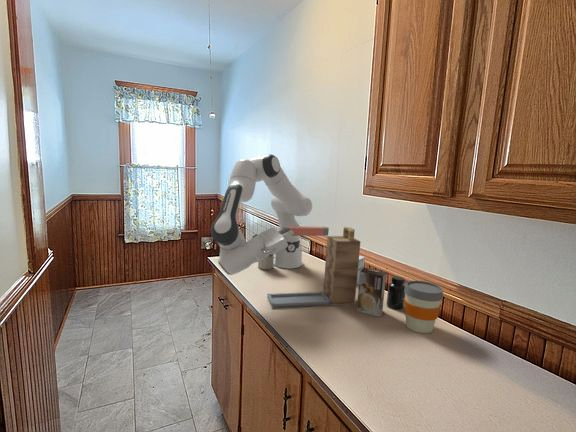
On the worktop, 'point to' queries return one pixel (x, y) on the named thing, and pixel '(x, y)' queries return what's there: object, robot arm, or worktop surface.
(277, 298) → the tray
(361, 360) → the worktop surface
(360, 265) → the supplement box
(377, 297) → the coffee box
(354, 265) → the tall wooden block
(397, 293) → the supplement bottle
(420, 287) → the reusable coffee cup
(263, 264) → the travel mug
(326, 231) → the bar
